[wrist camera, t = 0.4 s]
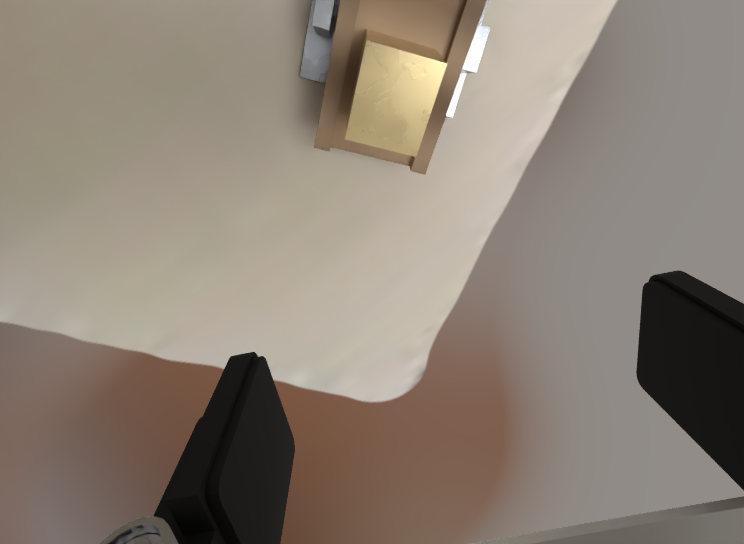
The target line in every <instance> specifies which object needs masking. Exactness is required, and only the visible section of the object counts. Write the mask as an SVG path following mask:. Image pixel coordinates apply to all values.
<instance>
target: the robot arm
mask: <svg viewBox="0 0 744 544" xmlns="http://www.w3.org/2000/svg"><path fill="white" fill-rule="evenodd" d="M642 292H643V293H642V305H641V320H640V332H639V346H638V359H637V360H638V361H637V379H638V381H639V384H640V385H641V387H642V388H643V389H644V390H645V391H646V392H647V393H648V394H649V395H650V396H651V397H652V398H653V399H654V400H655V401H656V402H657V403H658V404H659V405H660V406H661V407H662V408H663V409H664V410H665V411H666V412H667V413H668V414H669V415H670V416H671V417H672V418H673V419H674V420H675V421H676V423H677V424H679V426H680V427H682V429H683V430H684V431H686V433H687V434H688V435H689V436H691V438H692V439H693V440H694V441H695V442H696V443H697V444H698V445H699V446H700V447H701V448H702V449H703V450H704V451H705V452H706V453H707V454H708V455H710V457H711V458H712V459H713V460H714V461H715V462H716V463H717V464H718V465H719V466H720V467H721V468H722V469H723V470H724V471H725V472H726V473H727V474H728V475H729V476H730V477H731V478H732V479H733V480H734V481H735V482H736V483H737V484H738V485H739V486H740V487H741V488H742V489H743V490H744V304H743V303H741V302H739V301H737V300H735V299H733V298H732V297H730V296H728V295H726V294H724V293H722V292H720V291H718V290H717V289H715V288H713V287H711V286H709V285H707V284H705V283H704V282H702V281H700V280H698V279H696V278H694V277H692V276H690V275H689V274H687V273H685V272H682V271H673V272H668V273H662V274H657V275H653V276H652V277H651V278H650V279H649V282H647V283H646V284H645V285H644V286H643V291H642ZM294 452H295V445H294V438H293V435H292V432H291V429H290V426H289V424H288V421H287V418H286V415H285V412H284V409H283V407H282V404H281V401H280V398H279V395H278V392H277V390H276V387H275V384H274V381H273V378H272V375H271V373H270V370H269V367H268V364H267V361H266V359H265V358H264V357H263V356H261V357H258V355H257V354H256V353H255V352H251V353H245V354H240V355H235V356H231V357H230V358H229V360H228V362H227V365H226V367H225V369H224V371H223V373H222V376H221V378H220V380H219V382H218V384H217V387H216V389H215V391H214V393H213V395H212V398H211V400H210V402H209V404H208V406H207V408H206V410H205V413H204V415H203V417H201V418H200V419H199V421H198V422H197V424H196V426H195V428H194V431H193V432H192V435H191V437H190V439H189V441H188V443H187V445H186V448H185V450H184V452H183V454H182V456H181V458H180V460H179V462H178V465H177V467H176V469H175V471H174V473H173V475H172V477H171V480H170V482H169V484H168V486H167V488H166V490H165V492H164V495H163V497H162V499H161V501H160V503H159V505H158V507H157V510H156V512H155V514H154V516H151V517H142V518H139V519H136V520H134V521H131V522H128V523H127V524H125V525H123V526H122V527H120V528H118V529H117V530H115V531H114V532H113V533H111V534H110V535H109V536H108V537H107V538H105V539H104V540H103V541H102V542H101V543H100V544H280V542H281V535H282V529H283V523H284V516H285V510H286V503H287V497H288V491H289V485H290V478H291V471H292V465H293V459H294ZM472 544H744V497H738V498H732V499H726V500H720V501H714V502H708V503H702V504H696V505H690V506H684V507H679V508H672V509H666V510H660V511H655V512H649V513H643V514H638V515H632V516H626V517H620V518H614V519H608V520H603V521H597V522H591V523H585V524H579V525H574V526H568V527H563V528H556V529H551V530H545V531H540V532H534V533H528V534H522V535H517V536H511V537H506V538H500V539H494V540H488V541H482V542H477V543H472Z"/></svg>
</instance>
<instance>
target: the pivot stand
mask: <svg viewBox="0 0 744 544" xmlns="http://www.w3.org/2000/svg"><path fill="white" fill-rule="evenodd" d="M340 1H341V0H312V4H311V10H310V16H309V22H308V28H307V34H306V41H305V47H304V53H303V59H302V65H301V71H300V77H304V78H307V79H311V80H315V81H318V82H322V83H326V79H327V73H328V68H329V62H330V56H331V51H332V45H333V40H334V34H335V29H336V23H337V17H338V12H339V6H340ZM488 1H489V0H487V1H486V4H485V7H484V10H483V12H482V15H481V18H480V21H479V24H478V26H477V29H476V32H475V35H474V38H473V41H472V43H471V46H470V49H469V52H468V55H467V57H466V60H465V63H464V66H463V69H462V72H461V74H460V77H459V80H458V83H457V86H456V89H455V91H454V94H453V97H452V100H451V103H450V105H449V108H448V111H447V114H446V116H449V117H452V118H453V115H454V112H455V108H456V105H457V102H458V99H459V95H460V92H461V89H462V86H463V82H464V79H465V76H466V73H476V72H477V69H478V65H479V62H480V59H481V56H482V53H483V49H484V46H485V43H486V40H487V37H488V33H489V30H490V28H489V27H485V26H482V25H481V23H482V20H483V17H484V14H485V10H486V7H487V4H488Z"/></svg>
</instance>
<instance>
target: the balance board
mask: <svg viewBox="0 0 744 544" xmlns="http://www.w3.org/2000/svg"><path fill="white" fill-rule="evenodd" d="M486 1H487V0H341V1H340V6H339V12H338V17H337V23H336V29H335V34H334V40H333V45H332V51H331V56H330V62H329V68H328V73H327V79H326V84H325V90H324V95H323V101H322V107H321V112H320V118H319V123H318V129H317V135H316V140H315V146H314V148H318V149H322V150H327V151H330V147H334V148H338V149H342V150H346V151H350V152H354V153H359V154H363V155H367V156H371V157H375V158H379V159H383V160H387V161H391V162H395V163H399V164H404V165H408V166H410V169H411V171H413V172H417V173H421V174H425V173H426V170H427V168H428V165H429V162H430V159H431V156H432V153H433V151H434V148H435V145H436V142H437V139H438V137H439V134H440V131H441V128H442V125H443V122H444V120H445V117H446V114H447V111H448V108H449V105H450V103H451V100H452V97H453V94H454V91H455V89H456V86H457V83H458V80H459V77H460V74H461V72H462V69H463V66H464V63H465V60H466V57H467V55H468V52H469V49H470V46H471V43H472V41H473V38H474V35H475V32H476V29H477V26H478V24H479V21H480V18H481V15H482V12H483V10H484V7H485V4H486ZM366 29H369V30H372V31H375V32H379V33H382V34H386V35H389V36H392V37H396V38H399V39H403V40H406V41H409V42H413V43H416V44H420V45H423V46H426V47H430V48H433V49H436V50H437V51H438V52H439V54H440V55H441V56H442V57H443V59H444V60H445V61H446V63H447V66H446V69H445V72H444V75H443V78H442V81H441V84H440V87H439V90H438V93H437V96H436V99H435V102H434V105H433V108H432V111H431V114H430V117H429V120H428V123H427V126H426V129H425V132H424V135H423V138H422V141H421V144H420V147H419V150H418V153H417V156H416V157H414V156H410V155H406V154H402V153H398V152H394V151H390V150H386V149H382V148H378V147H374V146H370V145H366V144H361V143H357V142H353V141H349V140H345V132H346V124H347V116H348V111H349V107H350V102H351V97H352V93H353V88H354V84H355V79H356V75H357V70H358V65H359V61H360V56H361V52H362V47H363V42H364V38H365V33H366Z"/></svg>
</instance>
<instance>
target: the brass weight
mask: <svg viewBox="0 0 744 544" xmlns="http://www.w3.org/2000/svg"><path fill="white" fill-rule="evenodd" d="M446 66H447V63H446V61H445V60H444V59H443V57H442V56H441V55H440V54H439V52H438V51H437V50H436V49H433V48H430V47H426V46H423V45H420V44H416V43H413V42H409V41H406V40H403V39H399V38H396V37H392V36H389V35H386V34H382V33H379V32H375V31H372V30H369V29H366V33H365V38H364V42H363V47H362V52H361V56H360V61H359V65H358V70H357V75H356V79H355V84H354V88H353V93H352V97H351V102H350V107H349V111H348V116H347V124H346V132H345V140H349V141H353V142H357V143H361V144H366V145H370V146H374V147H378V148H382V149H386V150H390V151H394V152H398V153H402V154H406V155H410V156H414V157H416V156H417V153H418V150H419V147H420V144H421V141H422V138H423V135H424V132H425V129H426V126H427V123H428V120H429V117H430V114H431V111H432V108H433V105H434V102H435V99H436V96H437V93H438V90H439V87H440V84H441V81H442V78H443V75H444V72H445V69H446Z"/></svg>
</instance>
